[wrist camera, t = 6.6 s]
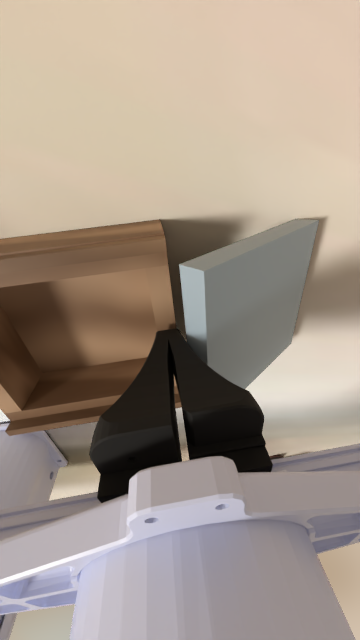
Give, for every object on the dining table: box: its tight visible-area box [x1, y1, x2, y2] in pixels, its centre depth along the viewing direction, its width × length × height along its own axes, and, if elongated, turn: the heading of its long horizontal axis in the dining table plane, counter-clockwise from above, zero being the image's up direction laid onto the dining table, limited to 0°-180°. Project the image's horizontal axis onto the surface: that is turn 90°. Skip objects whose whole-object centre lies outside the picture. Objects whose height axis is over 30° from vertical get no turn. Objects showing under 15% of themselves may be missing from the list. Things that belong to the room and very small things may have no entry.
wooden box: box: [0, 220, 182, 436], centre depth 15 cm, size 12×13×5 cm
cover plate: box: [179, 219, 319, 389], centre depth 15 cm, size 10×11×2 cm
